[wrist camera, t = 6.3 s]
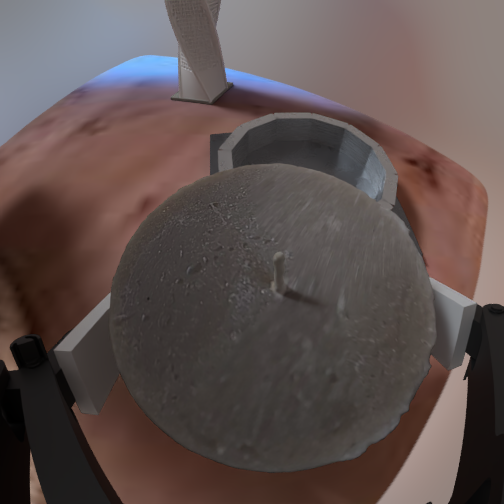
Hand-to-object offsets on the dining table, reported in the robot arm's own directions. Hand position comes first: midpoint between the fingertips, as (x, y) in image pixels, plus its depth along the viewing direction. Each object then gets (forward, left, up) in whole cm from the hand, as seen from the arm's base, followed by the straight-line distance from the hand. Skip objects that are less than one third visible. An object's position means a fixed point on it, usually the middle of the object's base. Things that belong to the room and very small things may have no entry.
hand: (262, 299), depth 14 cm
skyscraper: (-4, +36, -7) cm, 37 cm away
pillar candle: (0, -2, -7) cm, 8 cm away
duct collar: (+6, +14, -7) cm, 17 cm away
